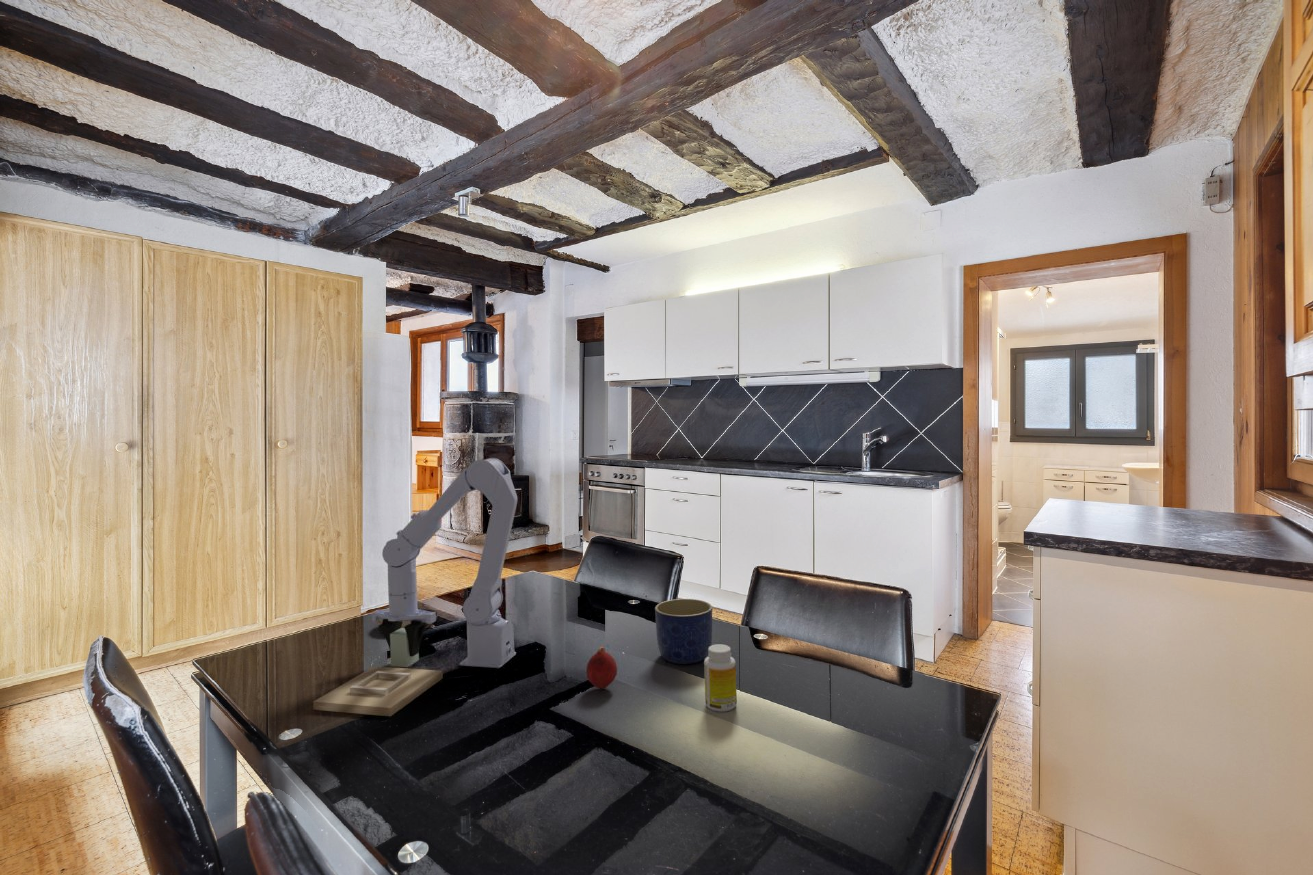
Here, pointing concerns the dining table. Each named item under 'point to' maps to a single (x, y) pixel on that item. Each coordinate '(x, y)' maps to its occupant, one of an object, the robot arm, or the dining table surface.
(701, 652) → the planter
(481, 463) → the robot arm
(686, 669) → the dining table surface
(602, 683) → the onion
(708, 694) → the supplement bottle
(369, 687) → the display plinth
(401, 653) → the sage block
